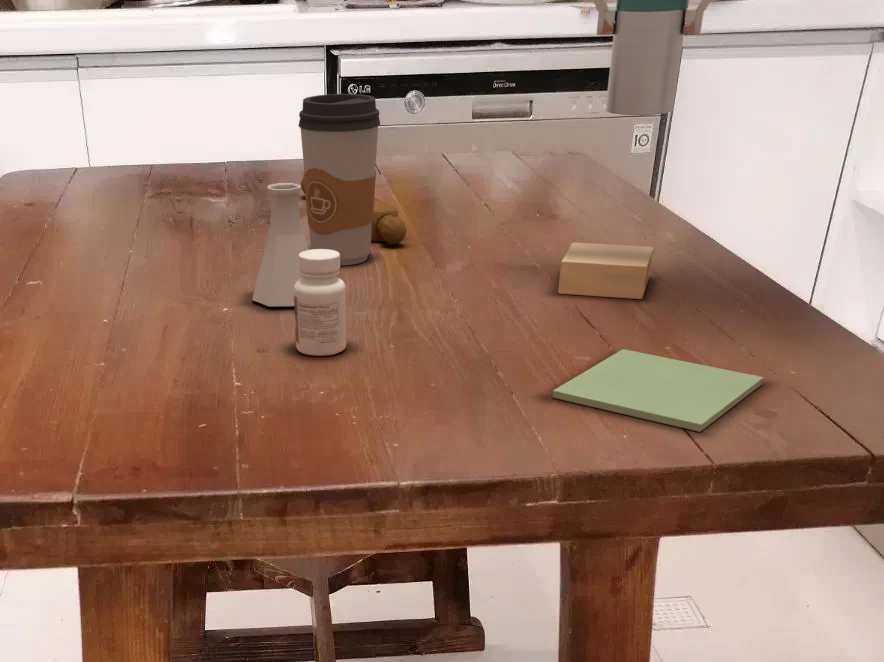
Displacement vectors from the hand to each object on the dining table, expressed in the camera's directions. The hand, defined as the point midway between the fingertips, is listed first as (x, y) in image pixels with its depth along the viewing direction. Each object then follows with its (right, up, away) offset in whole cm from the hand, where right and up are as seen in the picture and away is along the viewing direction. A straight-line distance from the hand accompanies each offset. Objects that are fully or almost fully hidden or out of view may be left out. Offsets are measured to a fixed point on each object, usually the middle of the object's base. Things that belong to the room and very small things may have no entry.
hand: (648, 34), depth 97 cm
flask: (-32, -19, +11) cm, 39 cm away
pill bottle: (-29, -28, -1) cm, 41 cm away
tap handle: (-25, +1, +37) cm, 45 cm away
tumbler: (+1, +1, +3) cm, 3 cm away
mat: (-3, -35, -11) cm, 37 cm away
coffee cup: (-27, -10, +22) cm, 36 cm away
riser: (-1, -17, +12) cm, 21 cm away
